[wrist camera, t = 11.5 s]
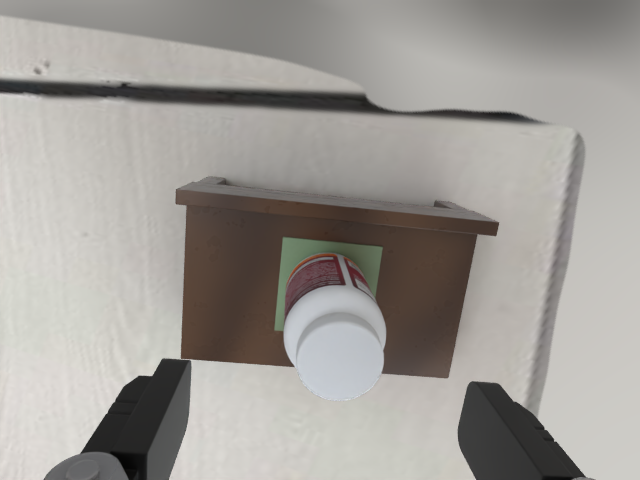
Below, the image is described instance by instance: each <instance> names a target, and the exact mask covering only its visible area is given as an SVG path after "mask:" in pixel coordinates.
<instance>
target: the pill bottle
mask: <svg viewBox="0 0 640 480" xmlns="http://www.w3.org/2000/svg"><path fill="white" fill-rule="evenodd" d="M385 342H386V326H385V321H384V318H383V316H382V313H381V310H380V308H379V306H378V304H377V302H376V300H375V298H374V296H373V294H372V292H371V290H370V288H369V286H368V284H367V281H366V279H365V277H364V275H363V273H362V272H361V270H360V269H359V267H358V266H357V265H356V264H355V263H354V262H353V261H351V260H350V259H348V258H347V257H345V256H343V255H340V254H336V253H329V252H326V253H318V254H314V255H311V256H309V257H307V258H305V259H303V260H302V261H301V262H299V263H298V264H297V265H296V266H295V268H294V269H293V270H292V272H291V274H290V276H289V278H288V281H287V285H286V292H285V311H284V345H285V349H286V352H287V355H288V357H289V359H290V361H291V362H292V364H293V365H294V366H295V367H296V368H297V371H298V374H299V377H300V379H301V381H302V383H303V384H304V385H305V386H306V388H307V389H309V390H310V391H311V392H312V393H313V394H315V395H317V396H319V397H321V398H324V399H327V400H332V401H344V400H350V399H353V398H356V397H359V396H361V395H363V394H364V393H366V392H367V391H368V390H370V389H371V388H372V387H373V386H374V385H375V383H376V382H377V381H378V379H379V377H380V375H381V373H382V370H383V366H384V353H383V349H384V346H385Z"/></svg>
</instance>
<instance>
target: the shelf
mask: <svg viewBox="0 0 640 480" xmlns="http://www.w3.org/2000/svg"><path fill="white" fill-rule="evenodd" d="M176 204H179V205H187V210H186V237H185V263H184V289H183V316H182V342H181V359H193V360H206V361H220V362H233V363H247V364H260V365H274V366H287V367H295V366H294V365H293V364H292V362H291V361H290V359H289V357H288V355H287V352H286V349H285V345H284V311H285V292H286V285H287V281H288V278H289V276H290V274H291V272H292V270H293V269H294V268H295V266H296V265H297V264H298V263H299V262H301V261H302V260H303V259H305V258H307V257H309V256H311V255H314V254H318V253H326V252H329V253H336V254H340V255H343V256H345V257H347V258H348V259H350V260H351V261H353V262H354V263H355V264H356V265H357V266H358V267H359V269H360V270H361V272H362V273H363V275H364V277H365V279H366V281H367V284H368V286H369V288H370V290H371V292H372V294H373V296H374V298H375V300H376V302H377V304H378V306H379V308H380V310H381V313H382V316H383V318H384V321H385V326H386V342H385V346H384V349H383V353H384V366H383V370H382V374H395V375H409V376H422V377H436V378H448V377H449V372H450V367H451V362H452V357H453V352H454V347H455V342H456V337H457V332H458V327H459V322H460V318H461V313H462V308H463V303H464V298H465V293H466V288H467V283H468V278H469V273H470V268H471V263H472V258H473V253H474V248H475V244H476V239H477V234H479V235H489V236H496V235H497V231H498V226H499V222H497V221H495V220H492V219H490V218H488V217H486V216H483V215H481V214H479V213H477V212H474V211H469V210H467V209H465V208H463V207H460V206H458V205H456V204H454V203H452V202H446V201H435V204H434V207H429V206H420V205H410V204H401V203H391V202H381V201H372V200H362V199H353V198H343V197H333V196H324V195H314V194H304V193H295V192H285V191H276V190H266V189H256V188H247V187H237V186H228V185H225V178H218V177H206V178H204V179H202V180H200V181H198V182H191V183H189V184H187V185H185V186H183V187H181V188H178V189H176Z"/></svg>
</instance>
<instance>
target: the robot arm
mask: <svg viewBox="0 0 640 480" xmlns="http://www.w3.org/2000/svg"><path fill="white" fill-rule="evenodd" d="M190 386H191V361H190V360H179V359H165V358H163V359H162V360H161V362H160V364H159V365H158V367H157V369H156V371H155V373H154V374H153V376H138V377H137V378H135V379H134V380H133V381H131V382H130V383H128V384H127V385H125V386H124V387H123V389H122V390H121V392H120V394H119V395H118V397H117V398H116V400H115V402H114V403H113V404H112V406H111V407H110V409H109V410H108V414H106V415H105V417H104V418H103V420H102V421H101V423H100V424H99V426H98V427H97V429H96V430H95V432H94V433H93V435H92V437H91V438H90V440H89V441H88V443H87V444H86V446H85V447H84V449H83V450H82V452H81V453H80V454H78V455H75V456H73V457H70V458H68V459H66V460H64V461H62V462H61V463H59V464H58V465H56V466H55V467H54V468H53V469H52V470H51V471H50V472H49V473H48V474H47V475H46V477H45V478H44V480H169V477H170V474H171V471H172V469H173V466H174V463H175V460H176V457H177V454H178V452H179V449H180V446H181V443H182V440H183V437H184V435H185V431H186V427H187V423H188V417H189V406H190ZM458 442H459V446H460V449H461V451H462V453H463V455H464V457H465V459H466V461H467V463H468V465H469V467H470V469H471V471H472V472H473V474H474V476H475V478H476V480H594V479H591V478H586V477H585V476H584V474H583V473H582V472H581V471H580V469H579V468H578V467H577V466H576V465H575V463H574V462H573V461H572V460H571V459H570V458H569V456H568V455H567V454H566V453H565V451H564V450H563V449H562V448H561V447H560V446H559V444H558V443H557V442H554V439H553V437H552V436H551V435H550V434H549V432H548V431H547V430H544V426H543V425H542V424H541V423H540V422H539V421H538V419H537V418H536V417H535V416H534V415H533V414H532V413H531V412H530V411H528V410H527V409H525V408H524V407H523V406H521V405H520V404H519V403H517V402H513V400H512V399H511V398H510V397H509V395H508V394H507V393H506V392H505V390H504V389H503V388H502V387H501V386H500V385H499V384H498V383H488V382H474V381H472V382H470V383H469V385H468V387H467V391H466V395H465V399H464V404H463V408H462V412H461V417H460V421H459V426H458Z"/></svg>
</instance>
